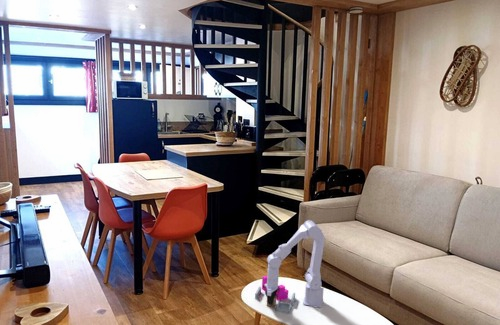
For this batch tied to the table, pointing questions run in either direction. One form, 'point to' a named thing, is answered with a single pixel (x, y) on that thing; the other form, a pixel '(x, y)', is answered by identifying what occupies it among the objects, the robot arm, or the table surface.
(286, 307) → the jig
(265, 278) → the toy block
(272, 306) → the walnut cube
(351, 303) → the table surface
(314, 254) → the robot arm
